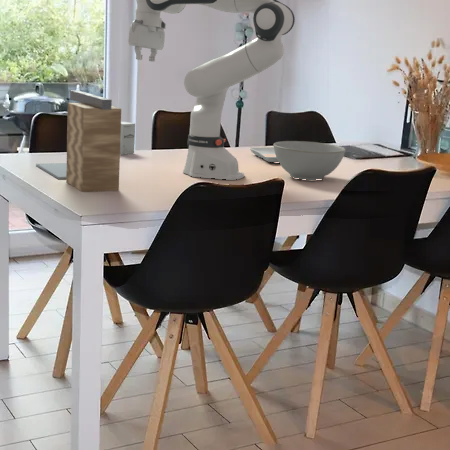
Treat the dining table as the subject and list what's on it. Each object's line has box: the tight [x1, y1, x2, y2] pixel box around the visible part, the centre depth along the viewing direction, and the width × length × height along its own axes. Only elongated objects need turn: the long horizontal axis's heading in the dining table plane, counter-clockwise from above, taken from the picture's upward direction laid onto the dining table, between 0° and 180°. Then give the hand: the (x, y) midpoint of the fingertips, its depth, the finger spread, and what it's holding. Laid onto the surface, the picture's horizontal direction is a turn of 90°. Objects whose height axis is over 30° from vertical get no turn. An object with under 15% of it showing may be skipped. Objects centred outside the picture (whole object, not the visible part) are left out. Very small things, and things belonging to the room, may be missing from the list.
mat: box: [35, 162, 67, 180], centre depth 278 cm, size 26×14×1 cm, turn 29°
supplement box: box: [120, 121, 136, 156], centre depth 325 cm, size 7×7×13 cm
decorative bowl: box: [272, 140, 346, 180], centre depth 295 cm, size 27×27×12 cm
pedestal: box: [65, 102, 122, 193], centre depth 253 cm, size 16×12×26 cm
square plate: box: [248, 146, 279, 163], centre depth 337 cm, size 27×27×4 cm
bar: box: [69, 89, 113, 110], centre depth 253 cm, size 30×3×3 cm, turn 29°
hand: (145, 60), depth 288 cm, fingers open, 8 cm apart
